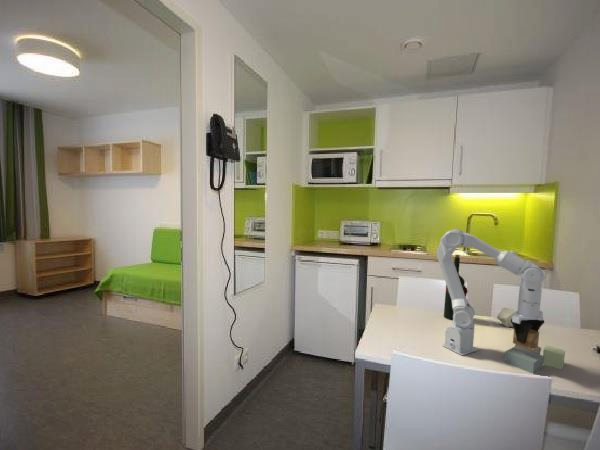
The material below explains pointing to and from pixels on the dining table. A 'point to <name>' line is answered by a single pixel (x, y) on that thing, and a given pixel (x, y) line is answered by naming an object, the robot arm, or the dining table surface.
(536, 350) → the card
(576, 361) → the dining table surface
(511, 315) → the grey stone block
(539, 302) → the robot arm
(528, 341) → the walnut cube
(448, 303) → the wine bottle
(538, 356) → the slate plinth
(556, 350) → the sage cube
